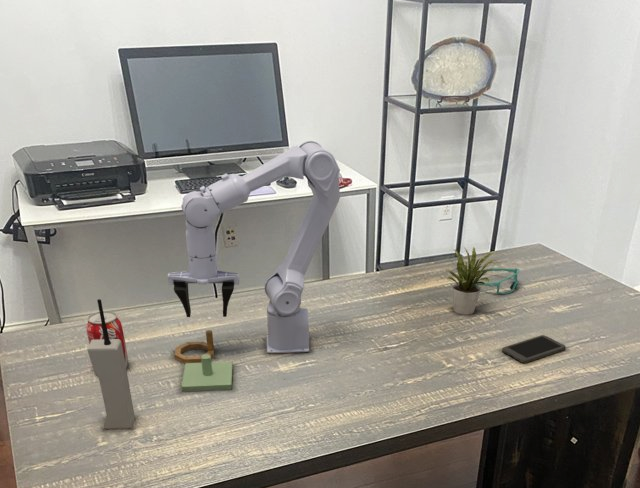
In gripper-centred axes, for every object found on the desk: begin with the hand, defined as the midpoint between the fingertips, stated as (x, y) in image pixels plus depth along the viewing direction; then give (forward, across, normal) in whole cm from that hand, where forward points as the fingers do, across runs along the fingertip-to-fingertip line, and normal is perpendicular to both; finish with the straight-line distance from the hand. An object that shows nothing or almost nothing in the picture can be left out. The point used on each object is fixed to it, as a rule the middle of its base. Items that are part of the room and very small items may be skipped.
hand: (207, 315), depth 146 cm
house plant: (+8, +64, +20) cm, 68 cm away
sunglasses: (+8, +75, +37) cm, 84 cm away
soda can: (+10, -20, -5) cm, 23 cm away
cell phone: (+8, +74, -3) cm, 74 cm away
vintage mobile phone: (+10, -15, -27) cm, 33 cm away
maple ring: (+10, -3, 0) cm, 10 cm away
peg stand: (+10, 0, -11) cm, 15 cm away
